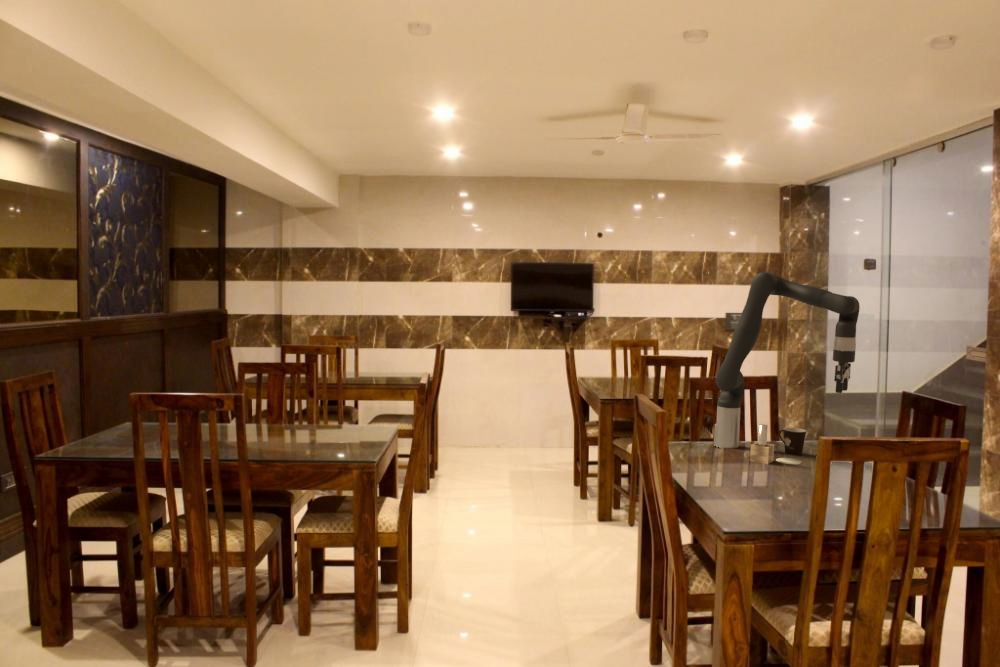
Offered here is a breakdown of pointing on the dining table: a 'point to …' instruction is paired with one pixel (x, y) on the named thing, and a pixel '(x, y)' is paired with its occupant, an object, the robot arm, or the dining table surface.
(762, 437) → the rod
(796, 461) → the saucer
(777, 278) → the robot arm
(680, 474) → the dining table surface
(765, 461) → the holder
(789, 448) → the coffee mug
